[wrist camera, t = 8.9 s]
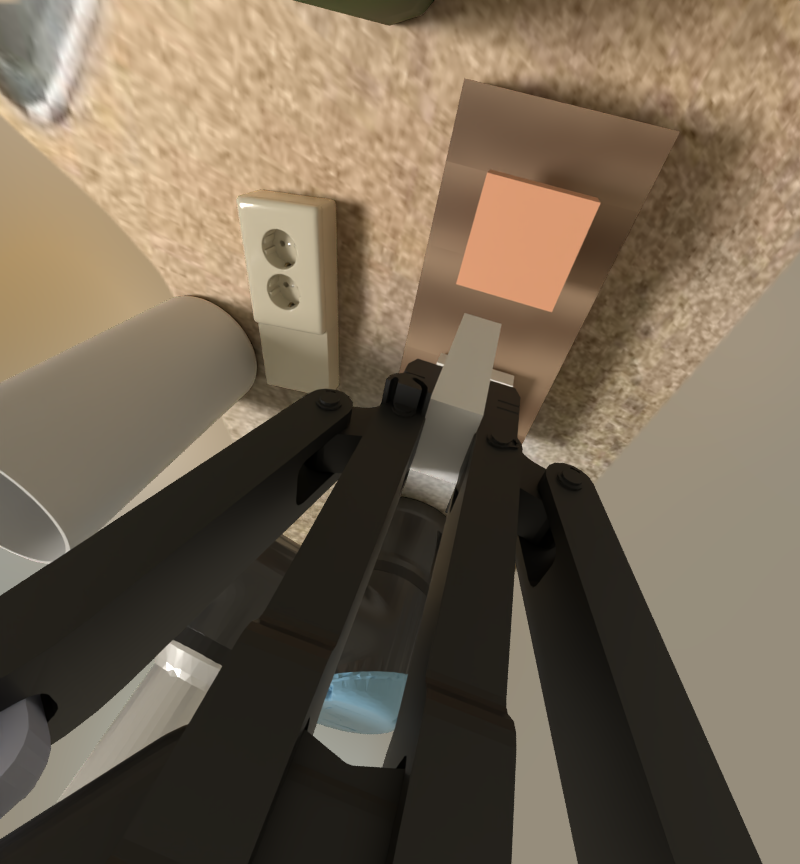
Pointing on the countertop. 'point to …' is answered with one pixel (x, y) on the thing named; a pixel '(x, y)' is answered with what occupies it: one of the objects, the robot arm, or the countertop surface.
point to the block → (546, 163)
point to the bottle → (375, 8)
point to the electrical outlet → (293, 286)
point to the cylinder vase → (112, 420)
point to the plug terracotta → (525, 239)
